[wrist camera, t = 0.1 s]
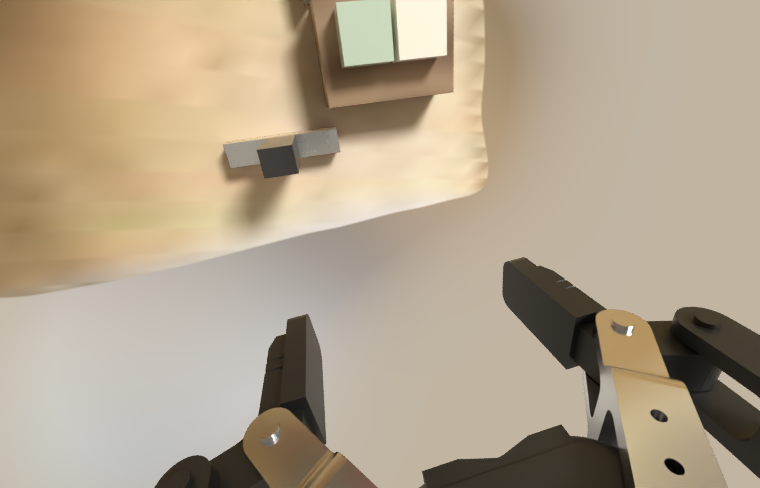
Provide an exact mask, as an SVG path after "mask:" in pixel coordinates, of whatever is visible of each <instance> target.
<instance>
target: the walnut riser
mask: <svg viewBox="0 0 760 488" xmlns="http://www.w3.org/2000/svg"><path fill="white" fill-rule="evenodd" d="M347 1H359V0H310V10H311V16H312V22H313V28H314V33H315V39H316V45H317V51H318V57H319V63H320V68H321V74H322V80H323V86H324V92H325V97H326V103H327V107H329V108H335V107H343V106H351V105H358V104H366V103H374V102H382V101H389V100H397V99H405V98H413V97H420V96H428V95H436V94H444V93H451V92H453V37H454V0H447V55H446V56H442V57H438V58H432V59H423V60H414V61H405V62H396V63H393V62H390V63H387V64H378V65H369V66H360V67H351V68H342V66H341V59H340V52H339V45H338V38H337V31H336V24H335V17H334V7H335V3H336V2H347ZM392 1H393V0H390V3H391V2H392Z"/></svg>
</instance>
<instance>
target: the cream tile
mask: <svg viewBox="0 0 760 488" xmlns="http://www.w3.org/2000/svg"><path fill="white" fill-rule="evenodd" d="M390 9H391V23H392V36H393V50H394V61H393V63H396V62H405V61H414V60H423V59H432V58H438V57H442V56H446V55H447V0H393V1H392V2H391V3H390Z"/></svg>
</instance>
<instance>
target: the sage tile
mask: <svg viewBox="0 0 760 488" xmlns="http://www.w3.org/2000/svg"><path fill="white" fill-rule="evenodd" d="M334 17H335V24H336V31H337V38H338V45H339V52H340V59H341V66H342V68H351V67H360V66H369V65H378V64H387V63H390V62H393V61H394V50H393V36H392V23H391V9H390V0H359V1H347V2H336V3H335V7H334Z"/></svg>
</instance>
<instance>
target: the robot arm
mask: <svg viewBox="0 0 760 488" xmlns="http://www.w3.org/2000/svg"><path fill="white" fill-rule="evenodd" d="M503 298H504V301H505V303H506V304H507V306H508V307H509V308H510V310H511V311H512V312H513V313H514V314H515V315H516V316H517V317H518V318H519V319H520V320H521V321H522V322H523V323H524V325H525V326H526V327H527V328H528V329H529V330H530V331H531V332H532V333H533V334H534V335H535V336H536V337H537V338H538V339H539V341H540V342H541V343H542V344H543V345H544V346H545V347H546V348H547V349H548V350H549V351H550V352H551V353H552V355H553V356H554V357H555V358H556V359H557V360H558V361H559V362H560V363H561V364H562V365H563V366H564V367H565V368H566V369H570V368H573V367H576V366H580V367H581V368H582V369H583V370H584V371H583V385H584V394H585V403H586V412H587V422H588V436H587V438H586V437H578V436H570V435H569V434H568V433H567V431H566V430H565V429H564V427H563V426H562V425H558V426H555V427H552V428H549V429H547V430H543V431H540V432H538V433H535V434H532V435H529V436H527V437H526V438H525V439H523V440H522V441H521V442H520V443H518V444H517V445H516V446H514V447H513V448H512V449H511V450H509V451H508V452H507V453H505V454H504V455H503V456H501V457H499V458H484V459H457V460H454V461H451V462H449V463H446V464H443V465H440V466H437V467H434V468H431V469H428V470H425V471H422V473H423V478H424V483H425V484H424V485H422V486H421V487H419V488H728V486H727V484H726V481H725V479H724V476H723V474H722V472H721V469H720V467H719V464H718V462H717V459H716V457H715V455H714V453H713V450H712V448H711V445H710V442H709V440H708V438H707V435H706V433H705V431H704V429H705V430H707V431H708V432H709V433H710V434H711V435H712V436H713V437H714V438H715V439H717V440H718V441H719V442H720V443H721V444H722V445H723V446H724V447H725V448H726V449H728V450H729V451H730V452H731V453H732V454H733V455H734V456H735V457H736V458H738V459H739V460H740V461H741V462H742V463H743V464H744V465H745V466H746V467H747V468H749V469H750V470H751V471H752V472H753V473H754V474H755V475H756V476H757V477H759V478H760V411H759V410H758V409H756V408H755V407H754V406H752V405H751V404H750V403H748V402H747V401H746V400H744V399H743V398H742V397H740V396H739V395H738V394H736V393H735V392H734V391H732V390H731V389H730V388H728V387H727V386H726V385H724V384H723V383H722V382H720V381H719V380H718V377H719V375H720V373H721V371H723V372H725V373H726V374H728V375H729V376H730V377H732V378H733V379H735V380H736V381H738V382H739V383H740V384H742V385H743V386H744V387H746V388H747V389H749V390H750V391H751V392H753V393H755V394H756V395H757V396H758V397H759V398H760V335H758V334H757V333H755V332H753V331H751V330H750V329H748V328H746V327H744V326H742V325H741V324H739V323H737V322H736V321H734V320H732V319H730V318H729V317H727V316H725V315H723V314H720V313H718V312H715V311H712V310H709V309H705V308H699V307H684V308H681V309H679V310H677V311H676V313H675V315H674V318H673V321H649V322H648V321H645V320H643V319H642V318H641V317H639V316H637V315H635V314H633V313H630V312H627V311H623V310H616V309H608V310H607V309H605V308H604V307H603V306H601V305H600V304H599V303H597V302H596V301H594V300H593V299H592V298H590V297H589V296H587V295H586V294H585V293H583V292H582V291H581V290H579V289H578V288H576V287H574V286H573V285H572V284H571V283H570V282H568V281H567V280H566V281H565V280H564V278H563V277H561V276H560V275H559V274H557V273H556V272H554V271H552V270H550V269H547V268H544V267H542V266H538V267H537V266H536V265H535V264H533V263H532V262H531V261H529V260H528V259H527V258H524V257H523V258H519V259H515V260H511V261H508V262H505V263H504V266H503ZM325 444H326V431H325V410H324V391H323V371H322V356H321V350H320V346H319V343H318V340H317V337H316V334H315V331H314V329H313V326H312V323H311V320H310V317H309V315H308V314H306V315H302V316H298V317H295V318H291V319H288V320H287V329H286V334H284V335H281V336H277V337H276V338H275V340H274V341H273V343H272V345H271V346H270V348H269V351H268V358H267V364H266V374H265V377H264V383H263V390H262V396H261V403H260V409H259V415H258V417H257V418H256V419H255V420H254V421H253V422H252V423H251V424H250V426H249V427H248V429H247V431H246V433H245V436H244V438H243V439H242V440H241V441H240V442H239V443H237V444H236V445H235V446H233V447H231V448H230V449H228V450H227V451H225V452H223V453H222V454H220V455H219V456H217V457H215V458H214V459H212V460H211V461H208V459H207V458H205V457H203V456H199V455H196V456H191V457H188V458H185V459H183V460H181V461H180V462H178V463H177V464H176V465H174V466H173V467H171V468H170V469H169V470H168V471H167V472H166V473H165V474H164V475H163V477H162V478H161V479H160V480H159V482H158V483H157V485H156V486H155V488H377V487H376V486H375V485H374V484H373V483H372V482H371V481H370V480H369V479H368V478H367V477H366V476H365V475H364V474H363V473H362V472H361V471H359V470H358V469H357V468H356V467H355V466H354V465H353V464H352V463H351V462H350V461H349V460H348V459H347V458H346V457H345V456H343V455H342V454H341V453H339V452H336V453H333V452H331V451H330V450H329V449H328V448H327V447H326V446H325Z"/></svg>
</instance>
